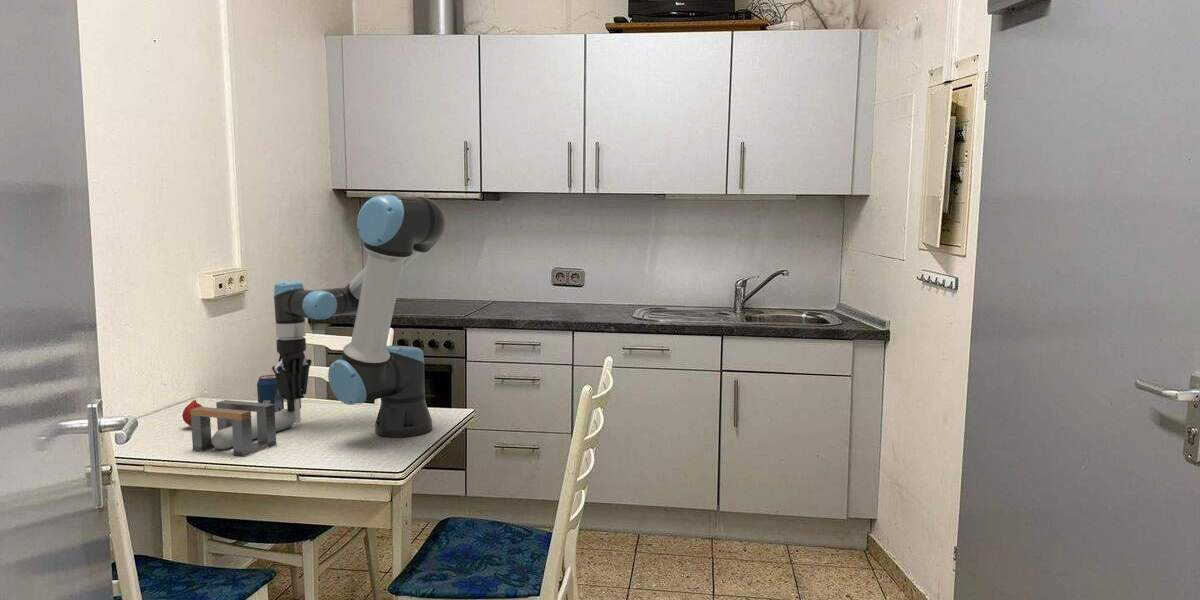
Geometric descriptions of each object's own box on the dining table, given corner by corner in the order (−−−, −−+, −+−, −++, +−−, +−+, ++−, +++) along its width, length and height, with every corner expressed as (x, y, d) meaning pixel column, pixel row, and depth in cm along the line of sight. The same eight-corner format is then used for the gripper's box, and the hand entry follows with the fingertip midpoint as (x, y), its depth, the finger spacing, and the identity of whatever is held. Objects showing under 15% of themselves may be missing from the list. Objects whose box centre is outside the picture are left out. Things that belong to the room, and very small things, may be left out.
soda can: (263, 414, 235) (261, 374, 234) (287, 413, 235) (285, 374, 234) (254, 420, 228) (252, 379, 227) (279, 419, 228) (277, 378, 227)
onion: (180, 431, 216) (178, 402, 215) (187, 426, 222) (185, 397, 221) (203, 430, 217) (201, 401, 216) (209, 424, 223) (207, 396, 222)
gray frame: (276, 444, 202) (274, 404, 201) (243, 456, 191) (241, 414, 190) (227, 439, 207) (225, 399, 206) (192, 450, 197) (190, 409, 196)
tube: (225, 436, 195) (296, 413, 218) (209, 428, 196) (282, 405, 219) (221, 456, 196) (292, 430, 219) (205, 447, 197) (278, 423, 220)
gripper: (296, 334, 224) (300, 415, 227) (262, 340, 212) (266, 426, 215) (318, 335, 222) (321, 417, 224) (284, 341, 210) (288, 428, 212)
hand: (294, 422), depth 219 cm, fingers closed
